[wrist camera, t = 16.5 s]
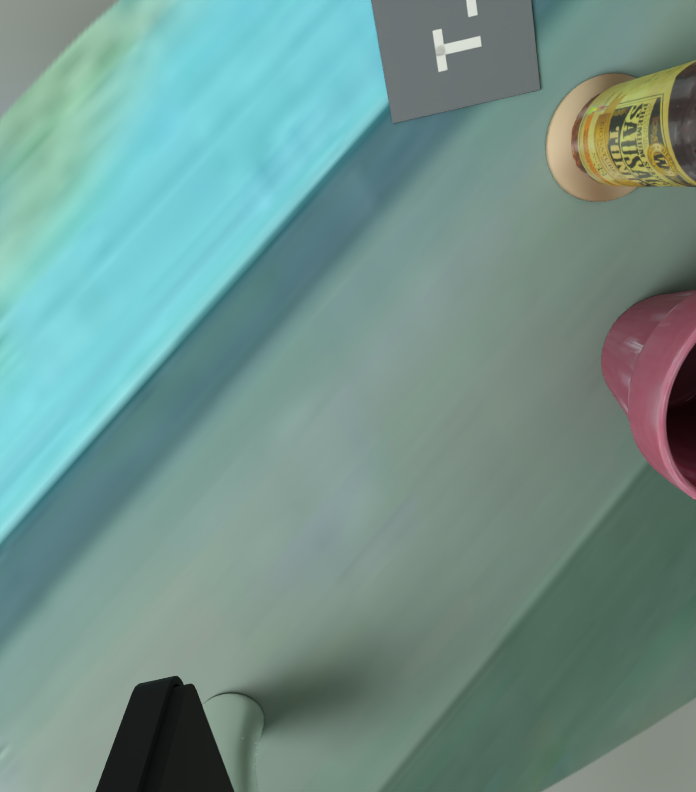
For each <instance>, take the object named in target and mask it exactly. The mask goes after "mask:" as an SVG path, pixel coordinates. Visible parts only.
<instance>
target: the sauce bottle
mask: <svg viewBox="0 0 696 792" xmlns="http://www.w3.org/2000/svg"><path fill="white" fill-rule="evenodd" d="M571 144H572V152H573V158H574V160H575V161H576V165H577V167H578V168H579V169H580V170H581V171H582V172H583V173H584V174H586V175H587V176H588V177H589V178H591V179H593V180H595V181H596V182H598V183H601V184H605V185H609V186H619V187H652V186H678V187H679V186H684V187H696V60H695V61H692V62H688V63H685V64H682V65H679V66H676V67H672V68H669V69H666V70H663V71H659V72H656V73H653V74H649V75H646V76H643V77H639V78H636V79H633V80H630V81H627V82H623V83H620V84H617V85H614V86H612V87H610V88H609V89H607V90H605V91H604V92H602V93H600V94H598V95H596V96H595V97H593V98H591V99H590V100H589V101H588V102H587V103H586V104H585V106H584V107H583V108H582V110H581V111H580V113H579V114H578V116H577V118H576V120H575V123H574V126H573V128H572V137H571Z"/></svg>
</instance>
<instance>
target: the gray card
mask: <svg viewBox="0 0 696 792" xmlns="http://www.w3.org/2000/svg"><path fill="white" fill-rule="evenodd" d="M371 3H372V8H373V14H374V20H375V25H376V31H377V37H378V42H379V48H380V54H381V60H382V65H383V71H384V77H385V82H386V88H387V94H388V99H389V105H390V111H391V117H392V122H393V123H398V122H402V121H406V120H411V119H415V118H420V117H424V116H428V115H433V114H437V113H441V112H446V111H450V110H454V109H459V108H463V107H467V106H472V105H476V104H481V103H485V102H489V101H494V100H498V99H502V98H507V97H511V96H515V95H520V94H524V93H528V92H533V91H537V90H540V83H539V73H538V63H537V53H536V43H535V33H534V23H533V14H532V4H531V0H371Z"/></svg>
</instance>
